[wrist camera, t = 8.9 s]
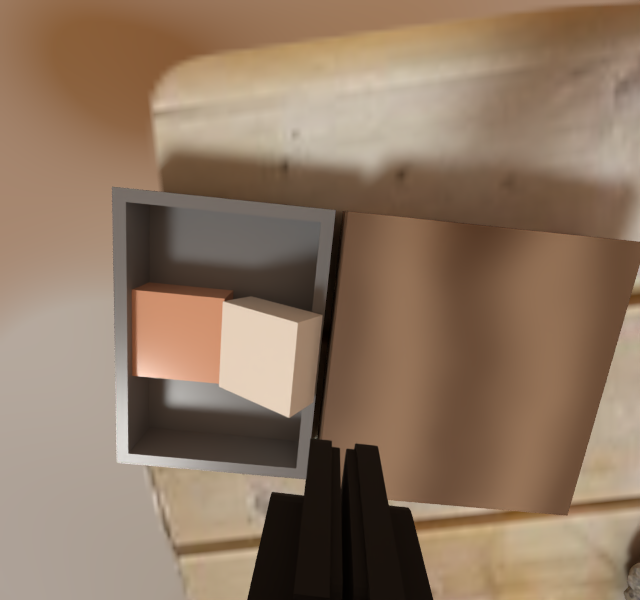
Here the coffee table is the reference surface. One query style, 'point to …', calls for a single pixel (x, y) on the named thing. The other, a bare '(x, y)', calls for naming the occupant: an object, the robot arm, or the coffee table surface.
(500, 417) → the tan square panel
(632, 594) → the mineral rock
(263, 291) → the box
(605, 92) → the coffee table surface
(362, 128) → the coffee table surface
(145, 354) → the terracotta tile
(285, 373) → the cream tile
